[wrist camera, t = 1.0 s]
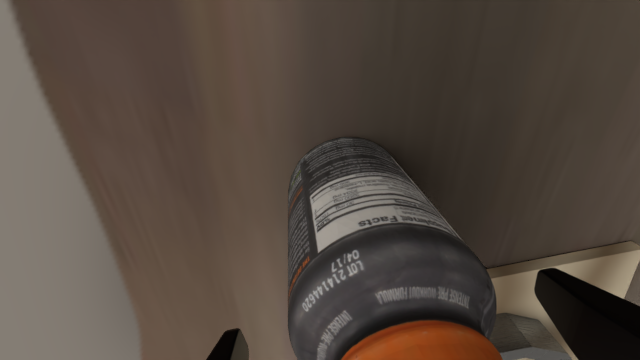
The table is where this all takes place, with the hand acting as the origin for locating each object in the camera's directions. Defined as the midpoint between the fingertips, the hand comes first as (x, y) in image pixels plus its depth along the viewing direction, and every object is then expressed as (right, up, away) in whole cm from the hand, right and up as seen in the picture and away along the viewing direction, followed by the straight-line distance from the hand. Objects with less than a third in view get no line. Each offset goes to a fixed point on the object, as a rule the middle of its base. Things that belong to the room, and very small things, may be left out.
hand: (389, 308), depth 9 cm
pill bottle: (-1, +4, +7) cm, 8 cm away
